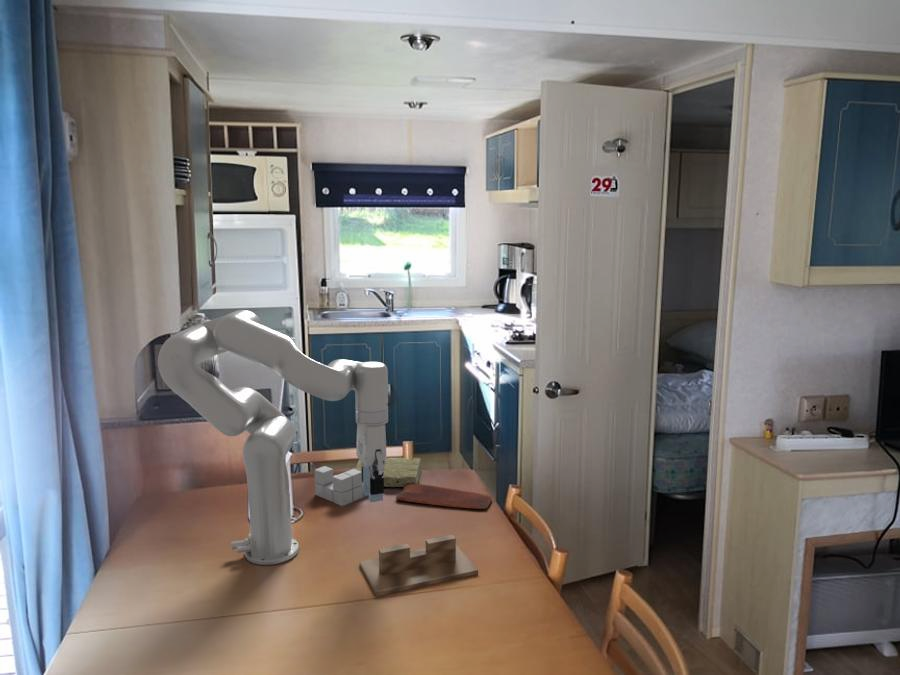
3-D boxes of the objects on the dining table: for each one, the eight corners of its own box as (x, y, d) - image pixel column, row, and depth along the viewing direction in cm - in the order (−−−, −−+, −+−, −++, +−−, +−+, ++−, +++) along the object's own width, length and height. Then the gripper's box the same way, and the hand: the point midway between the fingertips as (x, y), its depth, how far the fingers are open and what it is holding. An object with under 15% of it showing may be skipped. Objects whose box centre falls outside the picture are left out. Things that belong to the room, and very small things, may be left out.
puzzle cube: (373, 493, 200) (373, 467, 198) (342, 506, 191) (341, 480, 189) (346, 482, 207) (346, 457, 206) (315, 495, 198) (314, 469, 197)
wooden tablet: (394, 502, 193) (393, 496, 193) (405, 486, 202) (405, 481, 202) (485, 513, 186) (485, 508, 186) (493, 496, 195) (493, 491, 195)
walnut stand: (376, 596, 146) (375, 568, 145) (359, 565, 159) (358, 539, 158) (478, 573, 155) (478, 547, 154) (454, 546, 168) (454, 521, 167)
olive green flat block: (357, 455, 219) (419, 448, 218) (360, 472, 220) (421, 465, 220) (348, 477, 201) (415, 470, 200) (351, 496, 202) (418, 489, 201)
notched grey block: (383, 500, 160) (382, 468, 158) (370, 502, 158) (370, 469, 157) (375, 489, 165) (374, 458, 164) (363, 491, 164) (362, 459, 163)
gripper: (347, 406, 165) (348, 476, 168) (366, 428, 149) (367, 504, 152) (377, 403, 167) (377, 472, 171) (398, 424, 152) (399, 499, 155)
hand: (372, 487), depth 161 cm, fingers closed on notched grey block, 6 cm apart
